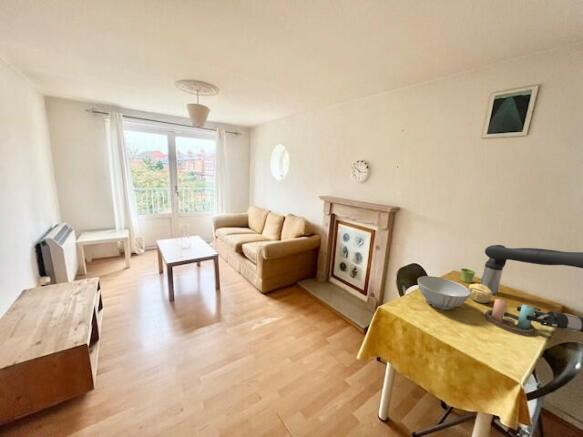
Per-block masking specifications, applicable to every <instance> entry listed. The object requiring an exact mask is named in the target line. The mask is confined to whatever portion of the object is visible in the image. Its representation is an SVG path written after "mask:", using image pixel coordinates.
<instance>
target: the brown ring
mask: <svg viewBox="0 0 583 437" xmlns="http://www.w3.org/2000/svg"><path fill="white" fill-rule="evenodd" d="M492 312H493V309H487V310H486V311H485V314H484V317H485V318H486V320H487V321H488V322H489V323H491V324H492V325H494V326H495V327H497V328H500V329H501V330H504V331H507V332H509V333H513V334H518V335H521V336H532V335H533V334H534V332H535V329H536V327H535V326H534V325H533V323H531V325H530V329H529V330H521V329H519V328H515V327H514V325H515V324H516V323H515V322H516V321H518V319H519V315H516V314H514V313H511V312H508V311H505V313H504V317H503V321H502V324H501V323H499V322H497V321H496V320H494V319H492V318H491V317H492V316H490V315H492ZM503 323H504V324H503Z"/></svg>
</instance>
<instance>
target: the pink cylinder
mask: <svg viewBox="0 0 583 437" xmlns="http://www.w3.org/2000/svg"><path fill="white" fill-rule="evenodd" d="M507 303H508V302H507V301H505V300H503V299H500V298H495V299H494V303H493V309H492V310H493V312H492V314H491V316H490V317H491V318H492V319H494V320H496V321H497V322H499V323H501V324H503V322H502V321H503V319H504V318H505V316H504V313H505V312H506V308H507Z"/></svg>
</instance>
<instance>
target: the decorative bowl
mask: <svg viewBox="0 0 583 437" xmlns="http://www.w3.org/2000/svg"><path fill="white" fill-rule="evenodd" d="M417 285H418V289H419V291H420V294H422V296H423V297H424V298H425V299H426V300H427V302H428V301H429V302H428V303H429V304H430V305H431V304H432V305H431V306H433V305H434V306H433V307H435V306H436V307H435V308H437V307H438V309H440V310H451V309H453V308H456V307H459V306H461V305H463V304H464V303H466V302H467V301H468V299H469V298H470V294H471V292H470V290H469V287H466V286H464V285H463V284H461V283H460V282H456V281H454V280H451V279H448V278H446V277H445V278H444V277H440V276H433V275H432V276H430V275H425V276H420V277H418V278H417Z"/></svg>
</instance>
